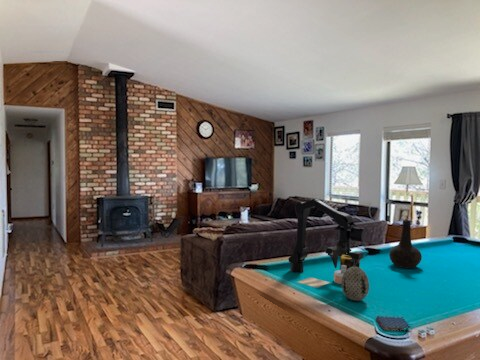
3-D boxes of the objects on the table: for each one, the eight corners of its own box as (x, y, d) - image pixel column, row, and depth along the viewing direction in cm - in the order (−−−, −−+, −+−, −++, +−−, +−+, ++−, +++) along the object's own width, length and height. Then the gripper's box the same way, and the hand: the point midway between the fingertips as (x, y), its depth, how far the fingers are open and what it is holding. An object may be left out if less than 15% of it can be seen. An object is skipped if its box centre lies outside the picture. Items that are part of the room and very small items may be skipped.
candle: (360, 277, 202) (360, 259, 202) (340, 276, 204) (341, 258, 204) (358, 272, 212) (358, 255, 212) (339, 271, 214) (339, 254, 214)
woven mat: (374, 320, 147) (374, 314, 147) (402, 321, 146) (402, 316, 146) (381, 331, 137) (382, 326, 137) (412, 333, 136) (412, 327, 136)
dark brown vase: (388, 268, 222) (390, 221, 221) (389, 261, 239) (390, 217, 238) (422, 271, 215) (423, 223, 214) (420, 264, 232) (421, 219, 231)
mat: (296, 283, 191) (296, 281, 191) (310, 278, 199) (310, 277, 199) (316, 289, 182) (316, 287, 182) (330, 284, 191) (330, 282, 190)
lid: (330, 274, 192) (331, 265, 192) (340, 271, 198) (340, 262, 198) (347, 278, 185) (347, 269, 185) (355, 274, 192) (356, 266, 192)
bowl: (330, 283, 192) (331, 274, 192) (340, 279, 198) (340, 271, 198) (346, 287, 186) (347, 278, 185) (355, 283, 192) (356, 274, 192)
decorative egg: (353, 306, 160) (354, 271, 160) (335, 297, 171) (336, 264, 170) (374, 302, 165) (375, 268, 164) (356, 294, 176) (357, 262, 175)
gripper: (319, 238, 192) (319, 268, 193) (353, 244, 179) (352, 276, 179) (331, 235, 200) (330, 265, 200) (364, 241, 187) (363, 272, 187)
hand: (343, 269), depth 192 cm, fingers open, 9 cm apart
